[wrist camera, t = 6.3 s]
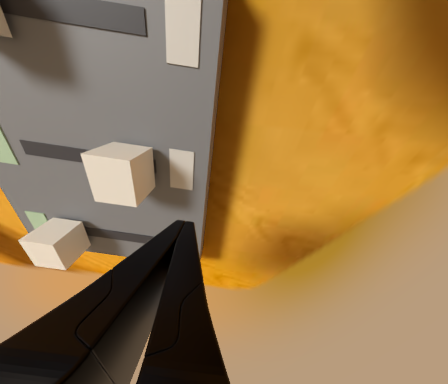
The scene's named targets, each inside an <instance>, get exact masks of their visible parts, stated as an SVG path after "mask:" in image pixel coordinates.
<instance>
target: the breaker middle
mask: <svg viewBox="0 0 448 384" xmlns="http://www.w3.org/2000/svg"><path fill="white" fill-rule="evenodd" d="M81 157H82V161H83V164H84V167H85V171H86V174H87V177H88V181H89V184H90V187H91V190H92V194H93V197H94V200H95V201H96V202H103V203H110V204H117V205H124V206H131V207H138V205H139V204H140V203H141V202H142V201H143V200H144V199H145V198H146V197H147V196H148V194H149V193H150V192H151V191H152V190H153V189H154V188H155V175H154V163H153V150H152V147H146V146H139V145H133V144H126V143H119V142H111V143H109V144H106V145H103V146H100V147H97V148H95V149H92V150H89V151H86V152H83V153H81Z"/></svg>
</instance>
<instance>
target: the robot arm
mask: <svg viewBox="0 0 448 384" xmlns="http://www.w3.org/2000/svg"><path fill="white" fill-rule="evenodd" d="M150 332H151V334H150ZM149 334H150V338H149V341H148V345H147V349H146V352H145V358H144V360H143V363H142V367H141V370H140V373H139V377H138V380H137V383H136V384H230V381H229V378H228V375H227V372H226V369H225V365H224V362H223V358H222V355H221V352H220V348H219V345H218V341H217V338H216V334H215V331H214V328H213V324H212V320H211V317H210V313H209V309H208V304H207V299H206V294H205V288H204V283H203V275H202V269H201V262H200V256H199V250H198V243H197V237H196V230H195V224H194V222H191V221H186V222H185V221H184V220H176V221H174V222H173V223H172V224H170V225H169V226H168V227H167V228H165V229H164V230H163V231H161V232H160V233H159V234H157V235H156V236H155V237H153V238H152V239H151V240H149V241H148V242H147V243H145V244H144V245H143V246H141V247H140V248H139V249H137V250H136V251H135V252H133V253H132V254H131V255H129V256H128V257H127V258H125V259H124V260H123V261H121V262H120V263H119V264H117V265H116V266H115V267H113V269H112V270H109V271H108V272H107V273H105V274H104V275H103V276H101V277H100V278H99V279H97V280H96V281H95V282H93V283H92V284H90V285H89V286H88V287H86V288H85V289H83V290H82V291H80V292H79V293H77V294H76V295H74V296H73V297H71V298H70V299H68V300H67V301H65V302H64V303H62V304H61V305H59V306H58V307H56V308H55V309H53V310H52V311H50V312H49V313H47V314H46V315H44V316H42V317H41V318H39V319H38V320H36V321H35V322H33V323H32V324H30V325H29V326H27V327H26V328H24V329H22V330H21V331H19V332H18V333H16V334H15V335H13V336H12V337H10V338H9V339H7V340H5V341H4V342H2V343H0V384H130V381H131V379H132V377H133V374H134V372H135V369H136V367H137V364H138V362H139V359H140V357H141V354H142V352H143V349H144V347H145V344H146V342H147V339H148V337H149Z"/></svg>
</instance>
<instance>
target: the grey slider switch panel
mask: <svg viewBox="0 0 448 384" xmlns="http://www.w3.org/2000/svg"><path fill="white" fill-rule="evenodd" d="M0 6H1V9H2V11H3V14H4V17H5V19H6V22H7V24H8V27H9V30H10V32H11V35H12V38H11V37H4V36H0V187H1V189H2V191H3V192H4V194H5V195H6V197H7V199H8V200H9V202H10V204H11V205H12V207H13V209H14V210H15V212H16V213H17V215H18V217H19V218H20V220H21V222H22V223H23V225H24V226H25V228H26V230H27V231H28V233H30V232H32V231H33V230H35V229H36V228H38V227H39V226H41V225H42V224H44V223H45V222H47V221H48V220H50V219H51V218H60V219H68V220H75V221H82V223H83V226H84V228H85V231H86V233H87V236H88V239H89V241H90V244H91V245H90V246H89V247H88V249H87V250H86V251H89V252H97V253H104V254H111V255H118V256H125V257H128V256H129V255H131V254H132V253H133V252H135V251H136V250H137V249H139V248H140V247H141V246H143V245H144V244H145V243H147V242H148V241H149V240H151V239H152V238H153V237H155V236H156V235H157V234H159V233H160V232H161V231H163V230H164V229H165V228H167V227H168V226H169V225H170V224H172V223H173V222H174V221H176V220H184V221H185V222H186V221H191V222H194V224H195V230H196V237H197V243H198V250H199V256H200V259H201V254H202V249H203V242H204V232H205V222H206V212H207V203H208V193H209V183H210V173H211V164H212V154H213V144H214V134H215V125H216V115H217V105H218V95H219V85H220V76H221V66H222V56H223V46H224V37H225V27H226V17H227V7H228V0H0ZM111 142H119V143H126V144H133V145H139V146H146V147H152V150H153V163H154V175H155V188H154V189H153V190H152V191H151V192H150V193H149V194H148V196H147V197H146V198H145V199H144V200H143V201H142V202H141V203H140V204H139V205H138V207H131V206H124V205H117V204H110V203H103V202H96V201H95V200H94V197H93V194H92V190H91V187H90V184H89V181H88V177H87V174H86V171H85V167H84V164H83V161H82V157H81V153H83V152H86V151H89V150H92V149H95V148H97V147H100V146H103V145H106V144H109V143H111Z"/></svg>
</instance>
